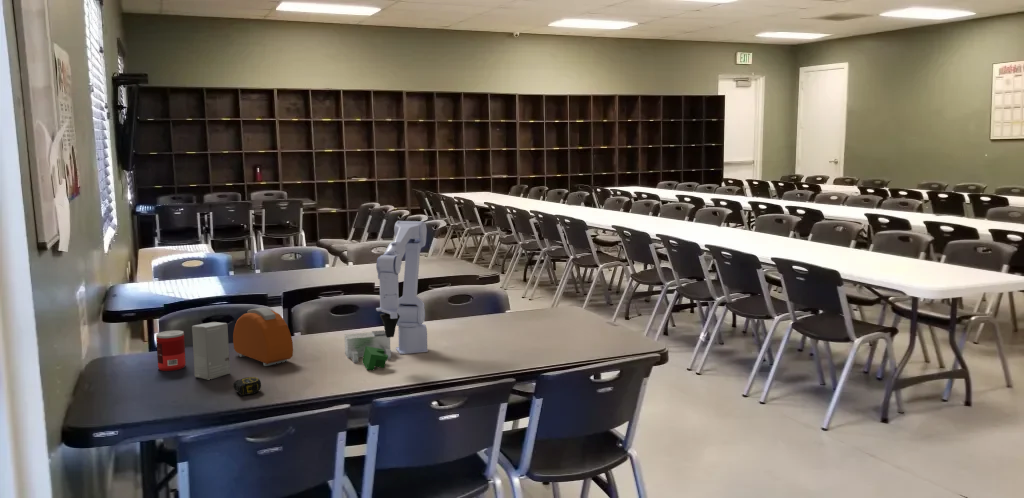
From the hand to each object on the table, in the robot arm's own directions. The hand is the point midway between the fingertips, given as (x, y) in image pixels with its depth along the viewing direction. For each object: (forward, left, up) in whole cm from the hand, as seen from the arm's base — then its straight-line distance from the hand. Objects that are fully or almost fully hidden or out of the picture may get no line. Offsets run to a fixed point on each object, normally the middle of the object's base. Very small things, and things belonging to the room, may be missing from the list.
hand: (389, 336), depth 234 cm
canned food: (+64, -23, -10) cm, 69 cm away
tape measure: (+43, +11, -10) cm, 45 cm away
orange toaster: (+37, -24, -10) cm, 45 cm away
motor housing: (+4, -16, -10) cm, 19 cm away
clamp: (+4, -4, -10) cm, 12 cm away
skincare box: (+52, -10, -10) cm, 54 cm away
